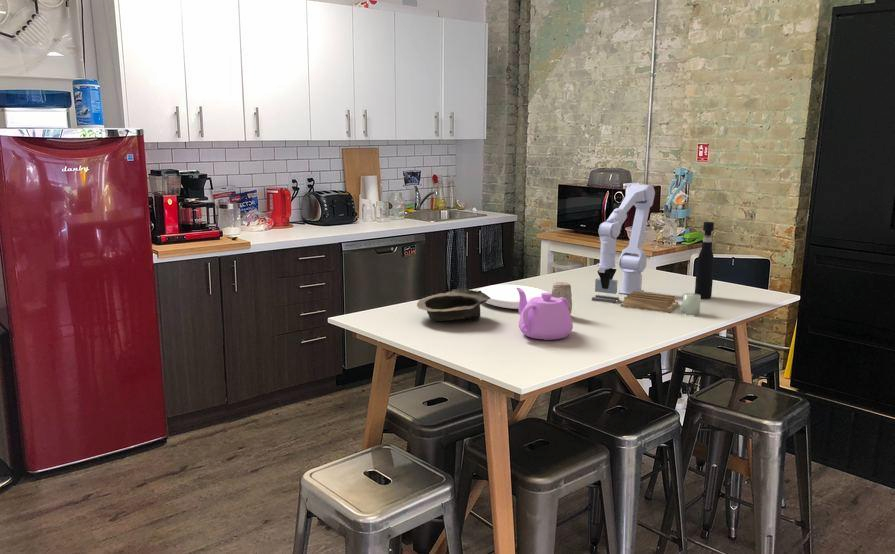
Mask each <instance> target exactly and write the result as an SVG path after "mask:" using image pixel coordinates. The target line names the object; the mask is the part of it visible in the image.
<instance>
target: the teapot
mask: <svg viewBox="0 0 895 554" xmlns="http://www.w3.org/2000/svg"><path fill="white" fill-rule="evenodd" d="M517 290H518V292H519V295H520V301H519V309H518V314H519V319H518V328H519V330H520V332H521V333H522V334H524V336H526V337H528V338H532V339H535V340H536V339H537V340H542V339H543V341H550V340H551V341H552V340H560V339H564V338H566V337H567V336H568V335H569V334H571V332H572V331H573V328H574V325H573V324H574V323H573V319H572V315H571V314H570V312H569V310H568V305H569V304H568V301H567V299H565V298H562V297H561V298H555V297H552V292H548V293H541V295H542V297H534V298H532V299H530V301H529V302H528V303H527V299H526V295H525V292H524V291H523V290H522V289H520V288H517Z"/></svg>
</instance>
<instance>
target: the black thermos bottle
mask: <svg viewBox="0 0 895 554" xmlns="http://www.w3.org/2000/svg"><path fill="white" fill-rule="evenodd" d="M702 227H703V228H702V231H703V232H704V234H703V235H704V236H703V240H702V242H701V249H700V252H699V254H698V256H697V257H698V258H697V261H696V272H695V274H696V275H695V283H694V284H695V286H694V293H695V294H699V295H701V299H700V300H710V298H711V299H712V291H713V280H714V268H715V257H714V252H713V249H712V248H713V242H712V241H713V237H712V232H714V229H715V228H714V227H715V222H713V221H703V225H702Z"/></svg>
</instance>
